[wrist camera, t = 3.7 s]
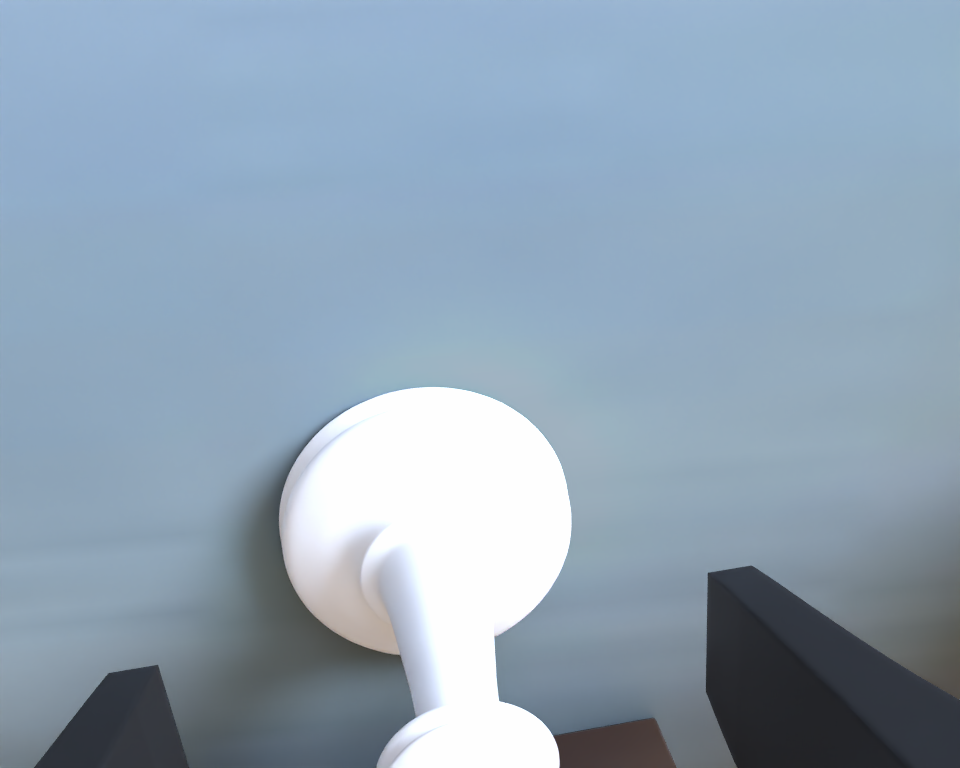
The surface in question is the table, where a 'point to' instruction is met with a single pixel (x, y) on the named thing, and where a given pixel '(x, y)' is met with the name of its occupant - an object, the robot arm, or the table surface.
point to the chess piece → (432, 558)
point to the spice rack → (615, 747)
